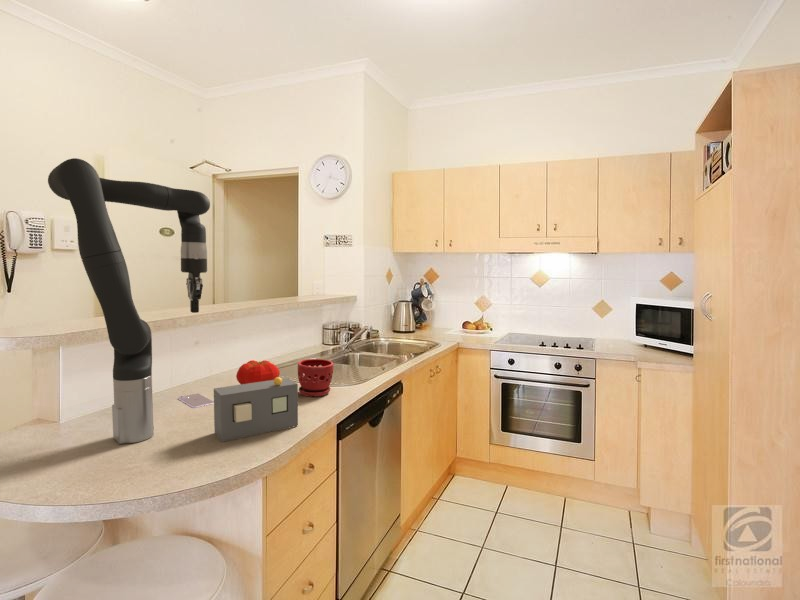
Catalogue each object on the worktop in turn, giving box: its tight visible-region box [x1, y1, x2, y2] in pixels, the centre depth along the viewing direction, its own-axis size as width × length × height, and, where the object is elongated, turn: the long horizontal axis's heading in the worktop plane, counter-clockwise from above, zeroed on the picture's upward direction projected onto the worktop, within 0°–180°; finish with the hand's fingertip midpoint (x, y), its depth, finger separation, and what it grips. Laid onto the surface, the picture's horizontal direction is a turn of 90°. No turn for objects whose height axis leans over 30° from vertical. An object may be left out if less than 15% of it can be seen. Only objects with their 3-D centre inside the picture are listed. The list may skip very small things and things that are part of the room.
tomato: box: [235, 359, 281, 385], centre depth 179 cm, size 14×16×10 cm
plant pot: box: [297, 358, 334, 397], centre depth 171 cm, size 13×13×12 cm
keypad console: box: [213, 376, 299, 443], centre depth 134 cm, size 8×22×15 cm, turn 125°
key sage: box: [272, 396, 287, 413], centre depth 136 cm, size 4×4×4 cm
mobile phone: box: [177, 393, 214, 409], centre depth 161 cm, size 8×1×15 cm
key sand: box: [232, 402, 252, 422], centre depth 128 cm, size 4×4×4 cm
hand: (194, 312), depth 145 cm, fingers closed
